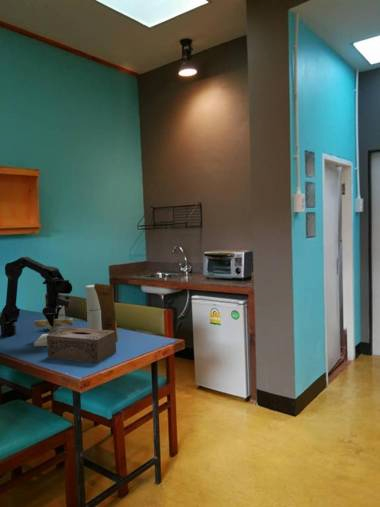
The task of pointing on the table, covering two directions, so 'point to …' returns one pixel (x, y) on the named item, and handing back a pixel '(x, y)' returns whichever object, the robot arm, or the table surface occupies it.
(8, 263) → the robot arm
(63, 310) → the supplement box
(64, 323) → the oak bar
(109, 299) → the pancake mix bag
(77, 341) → the tissue box cover
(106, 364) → the table surface
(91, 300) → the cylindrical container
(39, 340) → the fulcrum stand
